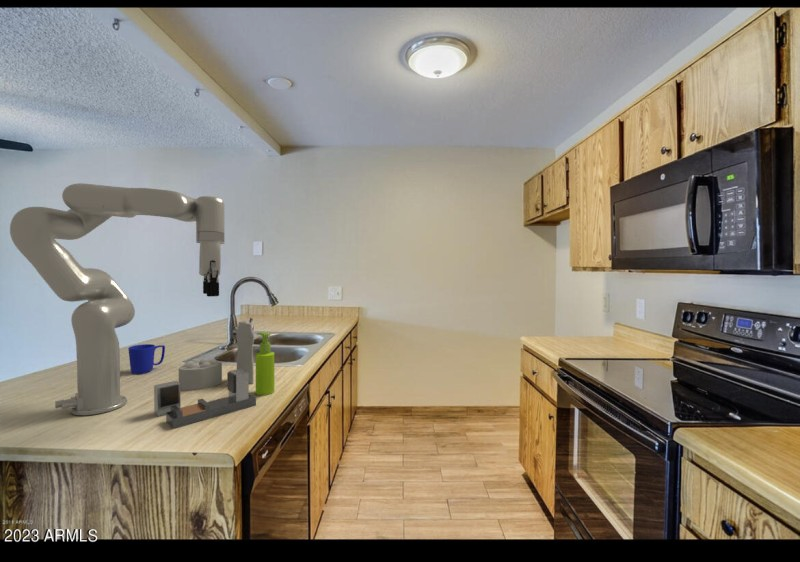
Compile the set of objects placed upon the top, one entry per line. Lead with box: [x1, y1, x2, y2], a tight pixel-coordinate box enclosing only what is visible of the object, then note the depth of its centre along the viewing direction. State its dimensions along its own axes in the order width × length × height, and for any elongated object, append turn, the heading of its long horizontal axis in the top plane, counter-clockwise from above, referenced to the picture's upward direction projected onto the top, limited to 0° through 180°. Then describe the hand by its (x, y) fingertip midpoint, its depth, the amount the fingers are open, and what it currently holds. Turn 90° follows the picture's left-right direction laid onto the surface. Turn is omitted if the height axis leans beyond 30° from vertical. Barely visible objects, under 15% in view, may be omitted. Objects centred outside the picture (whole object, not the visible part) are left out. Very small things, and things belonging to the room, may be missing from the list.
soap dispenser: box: [255, 331, 275, 396], centre depth 118 cm, size 6×7×20 cm
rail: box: [165, 368, 257, 430], centre depth 101 cm, size 22×6×10 cm, turn 137°
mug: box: [127, 343, 166, 375], centre depth 137 cm, size 8×12×10 cm
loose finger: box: [153, 380, 182, 417], centre depth 101 cm, size 4×6×8 cm
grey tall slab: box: [235, 320, 255, 385], centre depth 128 cm, size 11×4×22 cm, turn 55°
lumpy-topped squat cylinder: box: [178, 357, 223, 392], centre depth 124 cm, size 10×13×9 cm
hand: (210, 294), depth 107 cm, fingers open, 9 cm apart
